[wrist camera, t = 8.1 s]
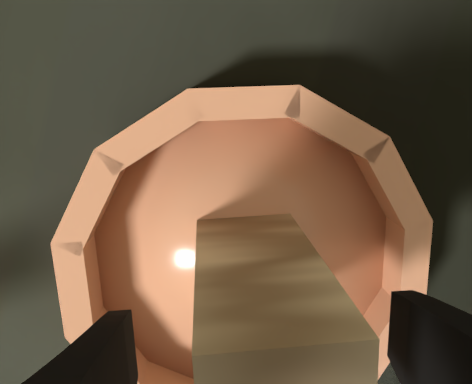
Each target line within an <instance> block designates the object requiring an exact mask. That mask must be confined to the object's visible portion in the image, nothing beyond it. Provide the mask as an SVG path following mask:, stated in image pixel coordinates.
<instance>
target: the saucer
mask: <svg viewBox="0 0 472 384" xmlns="http://www.w3.org/2000/svg"><path fill="white" fill-rule="evenodd" d="M276 214H291V216H292V217H293V218H294V220H295V221H296V223H297V224H298V225H299V227H300V228H301V230H302V231H303V232H304V234H305V235H306V237H307V238H308V239H309V241H310V242H311V244H312V245H313V246H314V248H315V249H316V251H317V252H318V253H319V255H320V256H321V258H322V259H323V260H324V262H325V263H326V265H327V266H328V267H329V269H330V270H331V272H332V273H333V274H334V276H335V277H336V279H337V280H338V282H339V283H340V284H341V286H342V287H343V289H344V290H345V291H346V293H347V294H348V296H349V297H350V298H351V300H352V301H353V303H354V304H355V305H356V307H357V308H358V310H359V311H360V312H361V314H362V315H363V317H364V318H365V319H366V321H367V322H368V324H369V325H370V326H371V328H372V329H373V331H374V332H375V333H376V335H377V336H378V338H379V339H380V342H379V363H378V379H379V378H380V376H381V375H382V373H383V372H384V370H385V369H386V367H387V366H388V364H389V363H390V360H389V358H388V356H387V350H388V335H389V320H390V304H391V291H406V290H414V291H417V292H420V293H423V294H425V295H426V294H427V283H428V272H429V261H430V250H431V239H432V228H433V220H432V218H431V216H430V214H429V212H428V210H427V208H426V206H425V204H424V202H423V200H422V198H421V196H420V194H419V192H418V190H417V189H416V187H415V185H414V183H413V181H412V179H411V177H410V175H409V173H408V171H407V169H406V167H405V165H404V163H403V161H402V159H401V157H400V155H399V153H398V151H397V149H396V147H395V145H394V143H393V142H392V140H391V138H390V136H388V135H386V134H384V133H383V132H381V131H379V130H378V129H376V128H374V127H372V126H371V125H369V124H367V123H365V122H364V121H362V120H360V119H358V118H357V117H355V116H353V115H351V114H350V113H348V112H346V111H344V110H343V109H341V108H339V107H337V106H336V105H334V104H332V103H331V102H329V101H327V100H325V99H324V98H322V97H320V96H318V95H317V94H315V93H313V92H311V91H310V90H308V89H306V88H304V87H303V86H301V85H281V86H251V87H221V88H190V89H189V88H188V89H186V90H185V91H183V92H182V93H180V94H179V95H177V96H176V97H174V98H173V99H171V100H169V101H168V102H166V103H165V104H163V105H162V106H160V107H159V108H157V109H156V110H154V111H153V112H151V113H149V114H148V115H146V116H145V117H143V118H142V119H140V120H139V121H137V122H136V123H134V124H132V125H131V126H129V127H128V128H126V129H125V130H123V131H122V132H120V133H119V134H117V135H116V136H114V137H112V138H111V139H109V140H108V141H106V142H105V143H103V144H102V145H100V146H99V147H97V148H95V149H94V151H93V153H92V155H91V157H90V159H89V161H88V164H87V166H86V168H85V170H84V172H83V174H82V177H81V179H80V181H79V183H78V185H77V187H76V189H75V192H74V194H73V196H72V198H71V200H70V202H69V205H68V207H67V209H66V211H65V213H64V215H63V218H62V220H61V222H60V224H59V226H58V228H57V231H56V233H55V235H54V237H53V239H52V241H51V243H50V244H51V250H52V257H53V263H54V270H55V276H56V283H57V289H58V296H59V302H60V309H61V315H62V322H63V328H64V335H65V338H66V339H67V340H68V342H69V343H70V344H72V343H73V342H74V341H75V340H76V339H77V338H78V337H79V336H81V335H82V334H83V333H84V332H85V331H86V330H87V329H88V328H89V327H91V326H92V325H93V324H94V323H95V322H96V321H97V320H98V319H99V318H101V317H102V316H103V315H104V314H105V313H107V312H108V311H116V310H130V309H131V311H132V320H133V330H134V339H135V349H136V358H137V368H138V381H137V384H194V377H193V365H192V336H193V309H194V282H195V254H196V227H197V220H202V219H217V218H232V217H246V216H261V215H276Z"/></svg>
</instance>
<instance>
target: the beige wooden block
mask: <svg viewBox="0 0 472 384" xmlns="http://www.w3.org/2000/svg"><path fill="white" fill-rule="evenodd" d="M379 342H380V339H379V338H378V336H377V335H376V333H375V332H374V331H373V329H372V328H371V326H370V325H369V324H368V322H367V321H366V319H365V318H364V317H363V315H362V314H361V312H360V311H359V310H358V308H357V307H356V305H355V304H354V303H353V301H352V300H351V298H350V297H349V296H348V294H347V293H346V291H345V290H344V289H343V287H342V286H341V284H340V283H339V282H338V280H337V279H336V277H335V276H334V274H333V273H332V272H331V270H330V269H329V267H328V266H327V265H326V263H325V262H324V260H323V259H322V258H321V256H320V255H319V253H318V252H317V251H316V249H315V248H314V246H313V245H312V244H311V242H310V241H309V239H308V238H307V237H306V235H305V234H304V232H303V231H302V230H301V228H300V227H299V225H298V224H297V223H296V221H295V220H294V218H293V217H292V216H291V214H276V215H261V216H246V217H232V218H217V219H202V220H197V227H196V254H195V282H194V309H193V336H192V365H193V377H194V384H378V363H379Z"/></svg>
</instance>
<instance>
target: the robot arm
mask: <svg viewBox="0 0 472 384" xmlns="http://www.w3.org/2000/svg"><path fill="white" fill-rule="evenodd" d="M387 356H388V358H389V360H390V363H391V365H392V367H393V369H394V371H395V373H396V375H397V377H398V379H399V381H400V384H472V315H471V314H469V313H467V312H464V311H462V310H460V309H458V308H455V307H453V306H451V305H449V304H446V303H444V302H442V301H440V300H437V299H435V298H433V297H430V296H428V295H425V294H423V293H420V292H417V291H414V290H406V291H391V304H390V320H389V335H388V350H387ZM137 381H138V368H137V358H136V349H135V339H134V330H133V320H132V311H131V309H130V310H116V311H108V312H107V313H105V314H104V315H103V316H102V317H101V318H99V319H98V320H97V321H96V322H95V323H94V324H93V325H92V326H91V327H89V328H88V329H87V330H86V331H85V332H84V333H83V334H82V335H81V336H79V337H78V338H77V339H76V340H75V341H74V342H73V343H72V344H70V345H69V346H68V347H67V348H66V349H65V350H64V351H62V352H61V353H60V354H59V355H57V356H56V357H55V358H54V359H52V360H51V361H50V362H49V363H47V364H46V365H45V366H44V367H42V368H41V369H40V370H39V371H37V372H36V373H35V374H34V375H32V376H31V377H30V378H28V379H27V380H26V381H24V382H23V383H22V384H137Z"/></svg>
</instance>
